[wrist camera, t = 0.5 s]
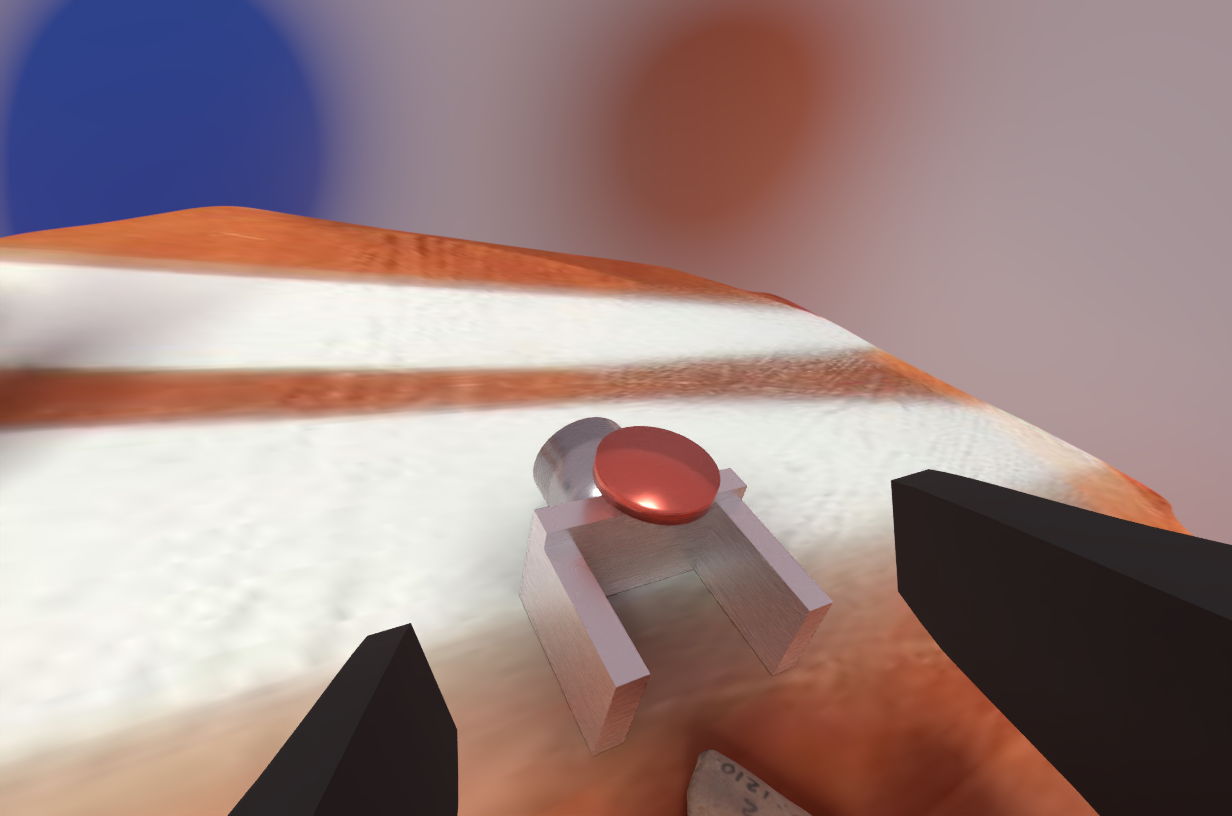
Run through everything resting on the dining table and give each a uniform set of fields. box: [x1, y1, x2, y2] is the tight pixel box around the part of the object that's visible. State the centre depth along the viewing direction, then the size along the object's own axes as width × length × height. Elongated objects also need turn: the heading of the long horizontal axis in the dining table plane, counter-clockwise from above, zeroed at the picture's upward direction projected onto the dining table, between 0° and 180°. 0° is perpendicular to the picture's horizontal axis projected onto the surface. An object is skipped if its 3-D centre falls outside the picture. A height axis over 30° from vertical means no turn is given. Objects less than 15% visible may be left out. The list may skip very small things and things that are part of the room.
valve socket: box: [520, 417, 833, 756], centre depth 31 cm, size 14×12×8 cm
